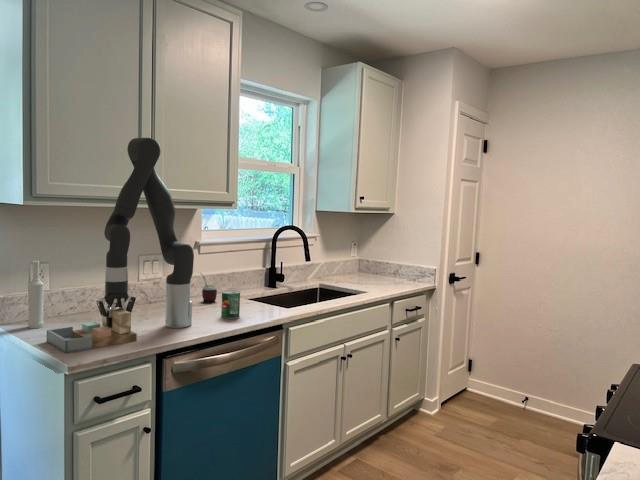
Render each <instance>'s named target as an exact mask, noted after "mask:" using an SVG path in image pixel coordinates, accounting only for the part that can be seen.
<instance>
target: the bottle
mask: <svg viewBox="0 0 640 480" xmlns="http://www.w3.org/2000/svg"><path fill="white" fill-rule="evenodd" d="M44 285H45V283H44V282H43V281H41V279H40V260H33V261H32V279H31V281H30V282H29V283H28V284H27V291H28V292H27V295H28V298H27V299H28V300H27V302H28V322H27V326H28V328H29V329H41V328H43V327H44V324H45V322H44V295H45V294H44V293H45V292H44V288H45V286H44Z"/></svg>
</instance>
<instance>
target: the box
mask: <svg viewBox="0 0 640 480" xmlns="http://www.w3.org/2000/svg"><path fill="white" fill-rule="evenodd" d="M73 330H74V328H73V326H67V327H59V328H53V329H46V342H47V343H48V344H50V345H52V346H53V347H55V348H57V349H58V350H60V351H61V352H63V353H65V354H70V353H75V352H79V351H80V352H81V351H86V350H91V349H93V348H92V336H89V337H83V338H75V337H73Z"/></svg>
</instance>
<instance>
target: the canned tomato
mask: <svg viewBox="0 0 640 480" xmlns="http://www.w3.org/2000/svg"><path fill="white" fill-rule="evenodd" d="M240 303H241V291H240V290H234V289H233V290H232V289H231V290H229V289H228V290H223V291H221V313H220V315H221V316H220V318H223V319H229V320H230V319H231V320H232V319H238V318H240V309H241V307H240V306H241V305H240Z"/></svg>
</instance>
